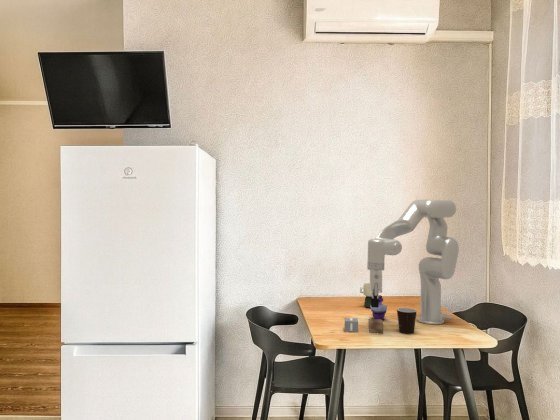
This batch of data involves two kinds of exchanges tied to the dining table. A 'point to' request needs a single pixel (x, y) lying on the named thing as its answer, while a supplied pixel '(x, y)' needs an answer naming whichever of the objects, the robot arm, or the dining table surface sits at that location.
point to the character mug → (367, 294)
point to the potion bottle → (379, 310)
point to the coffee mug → (406, 320)
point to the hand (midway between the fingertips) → (374, 306)
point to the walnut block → (375, 326)
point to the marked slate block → (351, 324)
